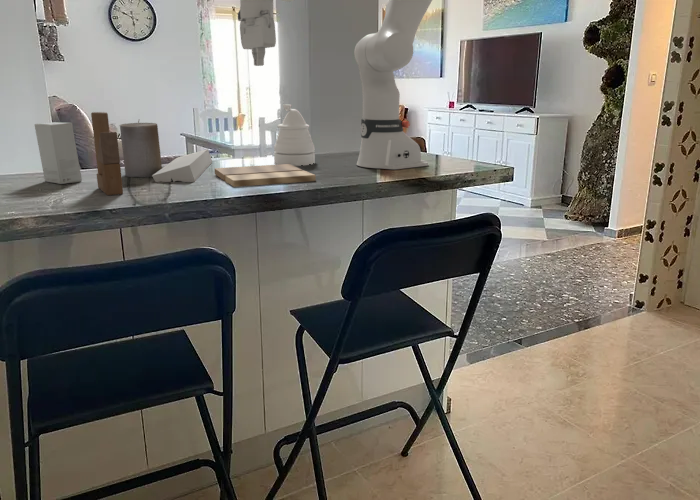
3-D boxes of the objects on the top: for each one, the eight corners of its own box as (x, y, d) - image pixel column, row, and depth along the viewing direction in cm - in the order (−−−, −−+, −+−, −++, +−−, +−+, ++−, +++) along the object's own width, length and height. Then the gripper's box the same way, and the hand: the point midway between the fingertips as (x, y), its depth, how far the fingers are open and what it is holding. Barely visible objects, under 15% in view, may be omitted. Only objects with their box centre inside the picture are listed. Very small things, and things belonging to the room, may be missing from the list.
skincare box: (82, 181, 148) (75, 122, 144) (59, 185, 143) (51, 124, 139) (64, 178, 153) (57, 120, 148) (42, 181, 148) (33, 122, 144)
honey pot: (276, 166, 177) (274, 105, 172) (272, 160, 189) (271, 103, 184) (317, 165, 180) (317, 105, 174) (311, 159, 192) (311, 103, 186)
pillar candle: (154, 170, 166) (148, 117, 162) (168, 175, 159) (162, 119, 155) (120, 174, 160) (113, 119, 156) (132, 179, 153) (125, 121, 149)
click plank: (289, 169, 169) (289, 163, 169) (302, 175, 161) (302, 169, 160) (214, 174, 160) (214, 168, 159) (224, 180, 151) (223, 174, 151)
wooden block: (107, 195, 132) (97, 114, 126) (97, 188, 140) (88, 112, 135) (123, 194, 133) (115, 114, 128) (113, 186, 142) (105, 111, 137)
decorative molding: (158, 193, 150) (195, 182, 150) (151, 175, 149) (189, 165, 149) (182, 172, 183) (212, 163, 183) (177, 157, 181) (207, 148, 181)
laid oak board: (304, 176, 160) (304, 170, 159) (315, 180, 153) (315, 174, 152) (225, 181, 150) (225, 175, 150) (233, 186, 143) (233, 180, 143)
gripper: (281, 9, 150) (282, 65, 154) (257, 16, 167) (258, 66, 171) (257, 8, 147) (259, 65, 151) (235, 14, 165) (237, 65, 169)
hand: (258, 65), depth 161 cm, fingers closed
